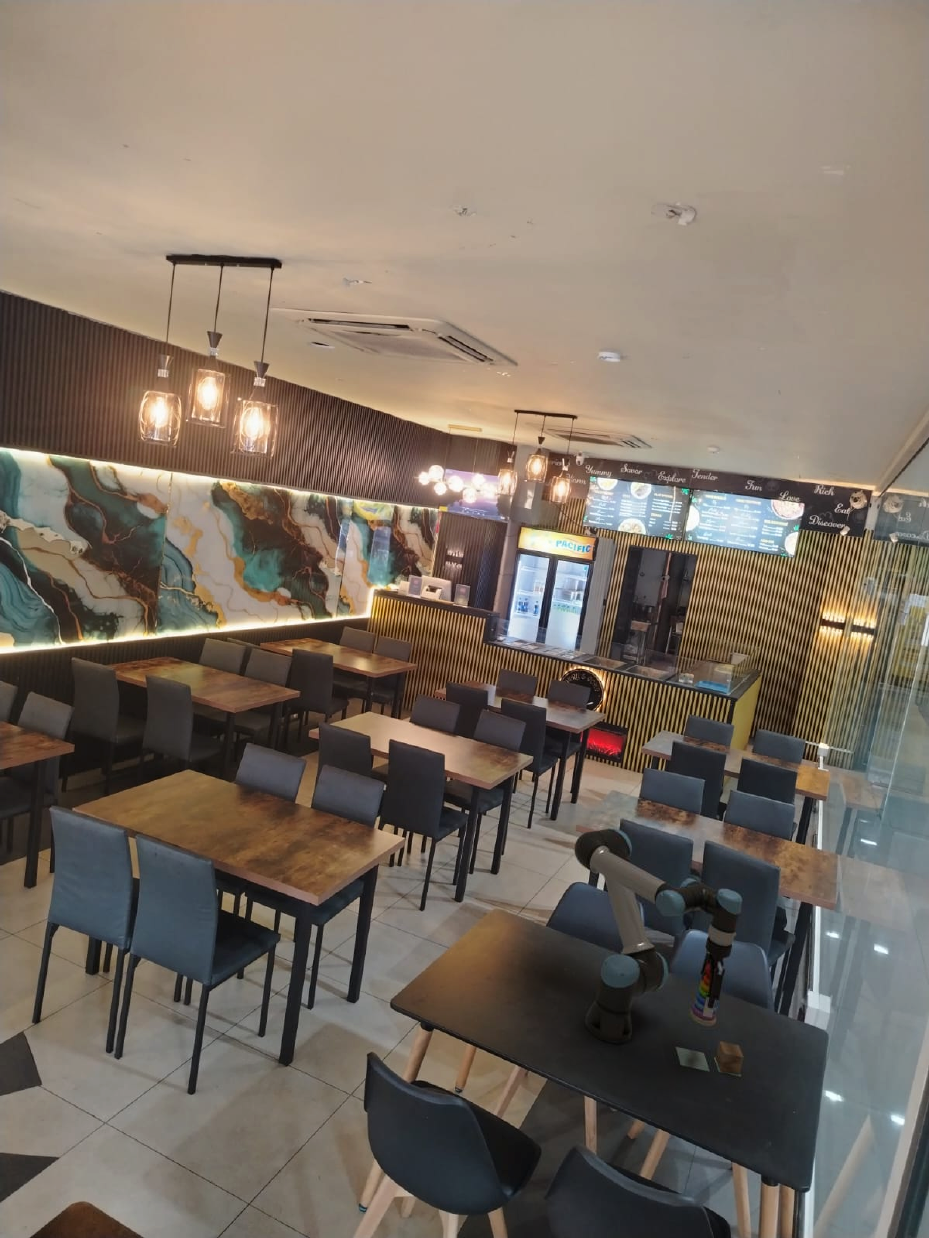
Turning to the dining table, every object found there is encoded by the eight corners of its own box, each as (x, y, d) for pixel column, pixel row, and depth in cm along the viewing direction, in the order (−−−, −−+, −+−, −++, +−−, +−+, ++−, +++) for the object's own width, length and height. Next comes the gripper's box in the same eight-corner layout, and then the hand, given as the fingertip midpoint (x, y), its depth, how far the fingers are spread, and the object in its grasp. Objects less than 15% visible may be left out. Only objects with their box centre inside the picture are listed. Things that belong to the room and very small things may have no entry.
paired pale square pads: (670, 1073, 245) (671, 1069, 245) (662, 1041, 261) (663, 1037, 261) (749, 1091, 243) (750, 1087, 243) (736, 1057, 259) (736, 1054, 259)
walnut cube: (720, 1070, 249) (724, 1052, 248) (715, 1058, 255) (719, 1041, 254) (739, 1075, 248) (743, 1057, 248) (734, 1062, 254) (738, 1045, 254)
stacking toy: (716, 1030, 246) (729, 973, 244) (690, 1022, 248) (703, 966, 246) (713, 1015, 254) (726, 960, 252) (688, 1008, 255) (700, 953, 253)
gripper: (740, 959, 238) (724, 1030, 240) (724, 926, 258) (709, 992, 260) (715, 953, 238) (699, 1024, 241) (701, 921, 258) (686, 987, 261)
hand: (704, 1008), depth 250 cm, fingers closed on stacking toy, 7 cm apart
